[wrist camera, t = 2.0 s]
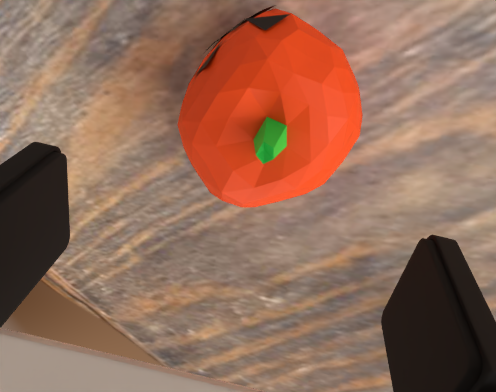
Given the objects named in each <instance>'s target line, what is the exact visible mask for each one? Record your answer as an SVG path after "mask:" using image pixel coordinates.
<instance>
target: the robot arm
mask: <svg viewBox="0 0 496 392" xmlns="http://www.w3.org/2000/svg"><path fill="white" fill-rule="evenodd" d="M69 239H70V226H69V203H68V179H67V159H66V156H65V155H64V154H62V153H61V151H60V149H59V148H58V147H56V146H52V145H48V144H43V143H39V142H33V143H31V144H30V145H28V146H27V147H25V148H24V149H23V150H21V151H20V152H18V153H17V154H15V155H14V156H12V157H11V158H10V159H8V160H7V161H5V162H4V163H2V164H1V165H0V392H266V391H262V390H258V389H254V388H250V387H245V386H241V385H237V384H233V383H229V382H225V381H221V380H217V379H213V378H209V377H204V376H200V375H196V374H192V373H188V372H184V371H180V370H176V369H172V368H167V367H163V366H159V365H155V364H150V363H147V362H143V361H138V360H134V359H130V358H126V357H122V356H118V355H113V354H109V353H105V352H101V351H97V350H93V349H88V348H84V347H79V346H75V345H71V344H67V343H63V342H59V341H55V340H50V339H46V338H42V337H38V336H33V335H29V334H24V333H20V332H16V331H12V330H8V329H4V328H1V327H2V325H3V324H4V323H5V322H6V321H7V319H8V318H9V317H10V315H11V314H12V313H13V312H14V311H15V310H16V308H17V307H18V306H19V305H20V304H21V302H22V301H23V300H24V299H25V297H26V296H27V295H28V294H29V293H30V291H31V290H32V289H33V288H34V287H35V285H36V284H37V283H38V282H39V281H40V279H41V278H42V277H43V276H44V275H45V273H46V272H47V271H48V270H49V268H50V267H51V266H52V265H53V264H54V262H55V261H56V260H57V259H58V258H59V256H60V255H61V254H62V253H63V252H64V250H65V249H66V247H67V245H68V243H69ZM381 323H382V330H383V336H384V341H385V347H386V352H387V358H388V363H389V369H390V375H391V380H392V386H393V391H394V392H496V322H495V320H494V318H493V315H492V313H491V311H490V309H489V307H488V305H487V303H486V301H485V299H484V297H483V295H482V293H481V291H480V289H479V287H478V285H477V283H476V281H475V278H474V276H473V274H472V272H471V270H470V268H469V266H468V264H467V262H466V260H465V258H464V256H463V254H462V252H461V250H460V248H459V246H458V244H457V242H456V241H455V240H453V239H448V238H444V237H440V236H436V235H430V236H429V237H428V238H427V239H424V238H423V239H421V240H420V241H419V242H418V244H417V246H416V248H415V250H414V252H413V254H412V256H411V258H410V260H409V262H408V264H407V266H406V268H405V270H404V272H403V274H402V276H401V278H400V280H399V282H398V283H397V285H396V287H395V289H394V291H393V293H392V295H391V297H390V299H389V301H388V303H387V305H386V307H385V309H384V311H383V314H382V321H381Z"/></svg>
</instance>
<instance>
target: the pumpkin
mask: <svg viewBox="0 0 496 392" xmlns="http://www.w3.org/2000/svg"><path fill="white" fill-rule="evenodd" d="M274 6H275V5H274ZM274 6H272V7H274ZM272 7H269V8H266V9H264V10H262V11H260V12H258V13H256V14H255V15H253V16H251V17H250V18H247V19H246V20H243V21H242V22H241V23H239V24H238V25H236V26H235V27H234V28H233V29H231V30H230V31H229V32H227V33H226V34H225V35H224V36H222V37H221V38H220V41H219V42H218V43H217V44H216V45H215V46H214V48H213V49H212V50H211V51H210V52H209V53H208V55H207V56H206V57H205V58H204V60H203V61H202V63H201V65H200V66H199V68H198V70H197V71H196V73H195V75H194V76H193V78H192V80H191V81H190V83H189V85H188V88H187V91H186V94H185V97H184V100H183V103H182V107H181V111H180V116H179V121H178V128H179V132H180V135H181V139H182V143H183V146H184V149H185V151H186V153H187V155H188V158H189V160H190V162H191V164H192V166H193V167H194V169H195V170H196V172H197V173H198V175H199V176H200V178H201V179H202V181H203V182H204V184H205V185H206V187H207V188H208V190H209V191H210V193H212V194H213V195H215V196H216V197H218V198H219V199H221V200H222V201H225V202H228V203H231V204H234V205H237V206H240V207H257V206H261V205H266V204H270V203H274V202H278V201H282V200H285V199H289V198H292V197H296V196H299V195H303V194H306V193H308V192H310V191H312V190H313V189H315V188H317V187H319V186H321V185H323V184H324V183H325V182H326V181H327V180H328V179H329V177H330V176H331V175H332V174H333V173H334V171H335V170H336V169H337V168H338V167H339V166H340V164H341V163H342V162H343V160H344V159H345V157H346V156H347V154H348V153H349V151H350V150H351V148H352V147H353V145H354V144H355V142H356V140H357V139H358V137H359V135H360V129H361V122H362V108H361V101H360V93H359V87H358V84H357V81H356V79H355V76H354V74H353V72H352V70H351V67H350V65H349V63H348V61H347V59H346V56H345V54H344V52H343V50H342V49H341V48H340V47H338V46H337V45H336V44H335V43H333V42H332V41H331V40H329V39H328V38H327V37H326V36H324V35H323V34H322V33H321V32H319V31H318V30H317V29H315V28H314V27H312V26H310V25H309V24H307V23H306V22H304V21H303V20H301V19H299V18H298V17H296V16H295V15H293V14H292V13H288V12H285V11H282V10H278V9H272V10H269V9H270V8H272ZM267 10H269V11H267ZM218 40H219V39H218ZM218 40H217V41H218ZM215 42H216V41H215ZM215 42H214V43H215ZM214 43H213V44H214ZM213 44H212V45H213ZM212 45H211V46H212ZM211 46H210V47H211ZM210 47H209V48H210ZM209 48H208V49H209ZM208 49H207V50H208Z"/></svg>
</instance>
